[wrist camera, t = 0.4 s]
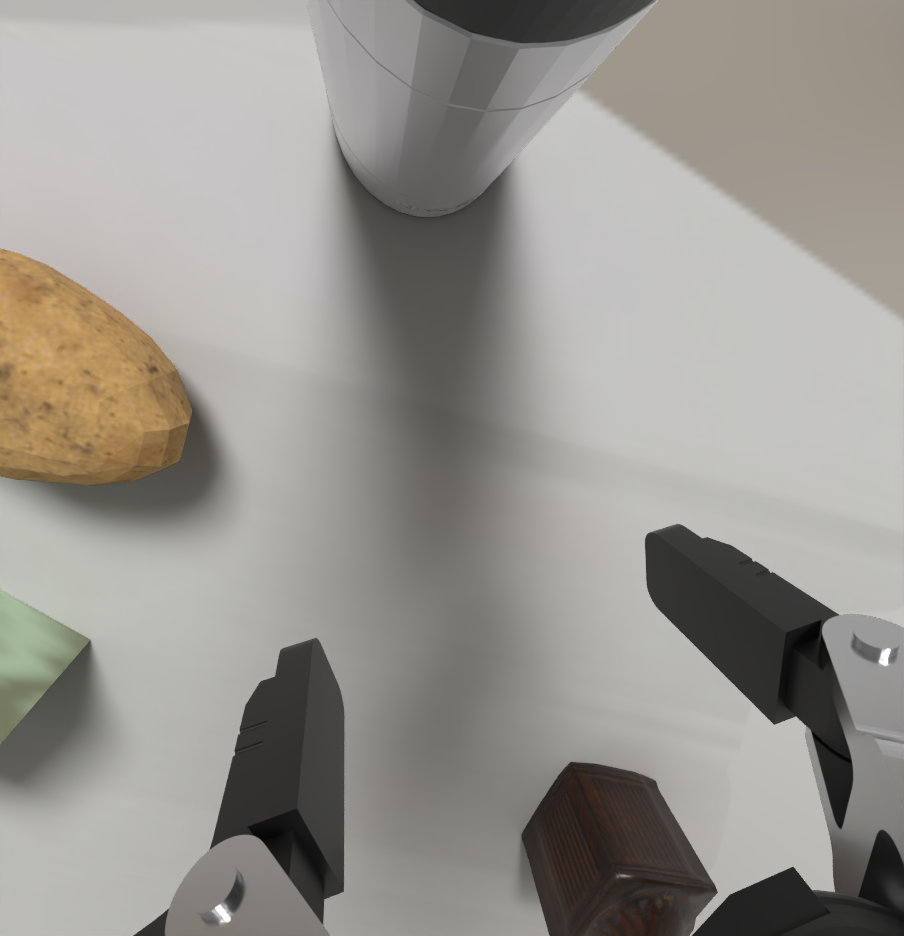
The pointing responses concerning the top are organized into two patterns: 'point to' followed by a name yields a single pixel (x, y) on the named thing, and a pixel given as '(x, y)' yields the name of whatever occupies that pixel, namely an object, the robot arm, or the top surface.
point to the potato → (80, 385)
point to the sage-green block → (30, 657)
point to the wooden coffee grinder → (613, 857)
